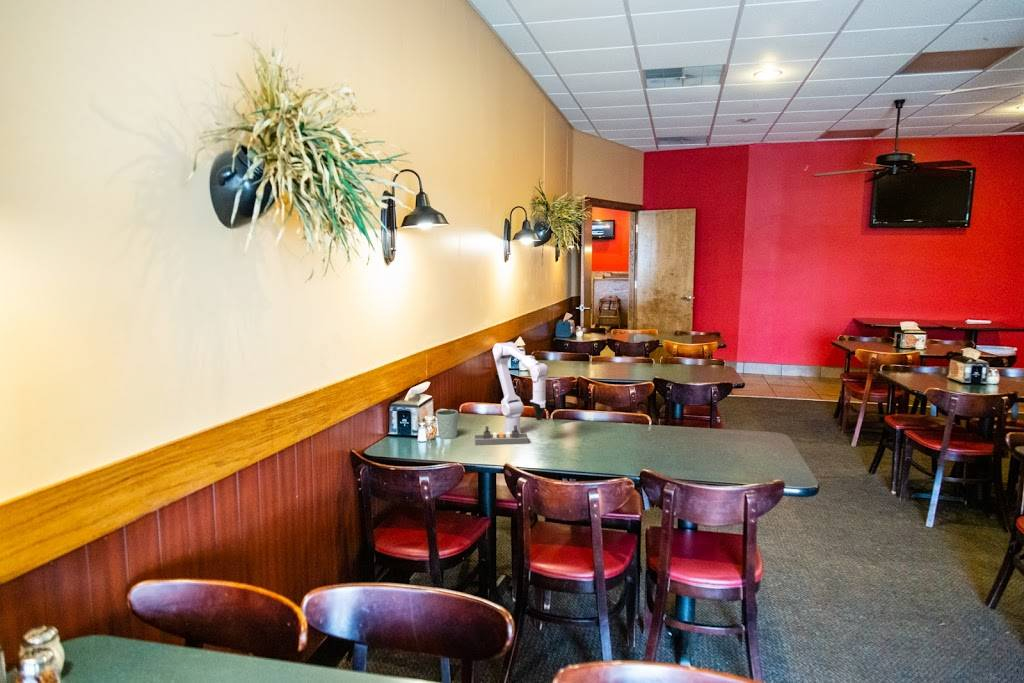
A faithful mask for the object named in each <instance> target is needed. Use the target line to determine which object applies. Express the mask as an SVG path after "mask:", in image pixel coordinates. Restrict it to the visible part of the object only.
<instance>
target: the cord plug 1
mask: <svg viewBox="0 0 1024 683" xmlns="http://www.w3.org/2000/svg"><path fill="white" fill-rule="evenodd" d="M489 427H490V426H487V425H486V426H485V431H483V435H484V438H491V435H492V434H491V431H489Z"/></svg>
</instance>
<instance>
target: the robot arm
mask: <svg viewBox="0 0 1024 683" xmlns="http://www.w3.org/2000/svg"><path fill="white" fill-rule="evenodd" d="M492 354H493V358H494V362H495V366H496V370H497V375H498V378H499V382H500V386H501V389H502V393H503V398H502V399H501V401H500V403H501V414H503V417H504V429H503V434H506V432H509V433H510V434H512V431H514V426H515V425H516V426H517V430H518V431H519V434H522V431H521V416H522V413H523V412H524V411H525V408H524V407H525V406H524V404H523V402H522V400H521V396H518V395H517V394H516V392H515V388H514V384H513V381H512V376H511V373H510V370H509V369H510V368H509V365H508V362H509V361H510V359H512V357H513V358H515V359H517V360H518V361H520V362H521V366H523V368H525V369H527V371H528V372H530V376H531V380H532V399H530V400H529V402H530V403H532V404H531V406H532V409H533V410H534V414H535V419H536V421H542V419H543V417H544V412H545V409H546V408H547V406H546V402H547V400H546V382H547V381H546V377H547V376H548V374H549V367H548V365H547V363H541V362H540V361H538V360H536V358H534V357H533V355H526V354H525V353H524V352H522V351H521V350H520V349H519V348H518V347H517V344H516V343H514V341H507V342H499V343H498V342H496V343H495V344H494V345H493V348H492Z"/></svg>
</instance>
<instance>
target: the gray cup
mask: <svg viewBox="0 0 1024 683" xmlns="http://www.w3.org/2000/svg"><path fill="white" fill-rule="evenodd" d="M435 415H436V420H437V433H438V434H437V435H438V438H439V439H440V440H454V439H456V438H457V437H458V419H459V418H458V417H459V411H458V410H457V409H441V410H437V411H436V414H435Z"/></svg>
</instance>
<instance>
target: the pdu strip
mask: <svg viewBox="0 0 1024 683" xmlns="http://www.w3.org/2000/svg"><path fill="white" fill-rule="evenodd" d="M525 444H526V445H527V444H529V436H528V435H527V433H521V434H519V437H512V434H510V437H507V438H506V434H504V433H503V438H500V437H499V433H497V438H493V433H492V434H491V438H484V434H474V445H475V446H493V445H525Z"/></svg>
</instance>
